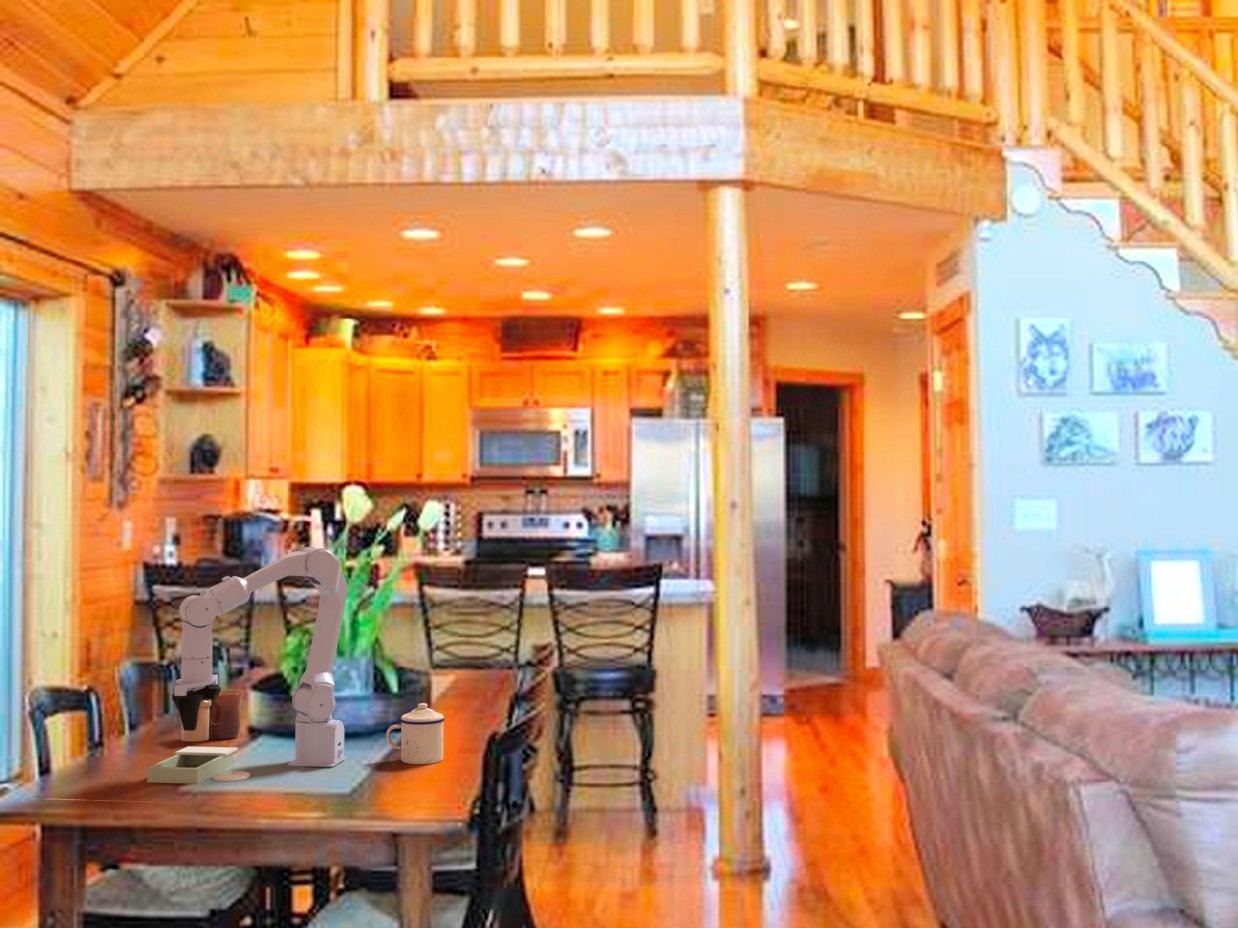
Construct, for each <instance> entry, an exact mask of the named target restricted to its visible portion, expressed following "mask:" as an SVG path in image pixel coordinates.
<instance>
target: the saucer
mask: <svg viewBox="0 0 1238 928" xmlns="http://www.w3.org/2000/svg"><path fill="white" fill-rule="evenodd" d="M250 776H251V774H250V772H248V771H242V770H231V771H221V772H219V773H217V774H214V775H213V776H211V779H212V780H213V781H217V782H219V781H220V782H235V781H241V780H247V779H248V778H250Z"/></svg>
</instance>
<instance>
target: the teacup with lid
mask: <svg viewBox="0 0 1238 928" xmlns="http://www.w3.org/2000/svg"><path fill="white" fill-rule="evenodd" d="M445 719H446V718H445V716H444V714H443V713H440V712H436V711H435V710H433V709H432V708H430V707H429V708H428V703H426V702H423V703H422V702H421V703H418V704H417V708H414V709H412V710H411V711H410V712H408V713H405V714H403V715H401V717H400V719H399V721H400V722H401V723H400V724H393V725H391V726H390V727H389V728H388V729H387V730H386V736H385V737H386V738H385V739H386V740H387V741H386V742H387V743H388V745H389V746H390V747H391V748H393V749H395V750H400V752H401V753H400V759H401V762H403V763H404V764H409V765H431V764H436V763H440V762H441V761H443V760H444V721H445ZM396 729H401V730H400V731H401V735H400V736H401V743H400V745H397V744H395V743H394V742H393V741H392V739H391V732H392V730H396Z"/></svg>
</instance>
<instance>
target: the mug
mask: <svg viewBox="0 0 1238 928" xmlns="http://www.w3.org/2000/svg"><path fill="white" fill-rule="evenodd" d="M244 693H245V691H244V690H242V689H236V688H235V689H234V688H225V689H224V688H221V691H220V693H219V695H218V697H217V699H216V701H215V704H214V707H213V711H212V715H211V719H210V723H209V738H208V739H211V740H212V741H213V740H214V741H215V740H216V741H226V739H227V740H232V738H233V739H236V738H238V736H239V735H240V733H241V727H242V725H241V704H242V699H243V696H244ZM235 737H236V738H235Z"/></svg>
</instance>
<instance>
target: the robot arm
mask: <svg viewBox="0 0 1238 928" xmlns="http://www.w3.org/2000/svg"><path fill="white" fill-rule="evenodd" d="M288 576H293V577H303V578H305V579H306V580H308V581H309V582H310V583H312V585H313V586H314V587H315V589H316V591H318V593H319V594H320V599H319V605H318V610H317V615H316V620H315V624H314V630H313V635H312V639H311V645H310V651H309V655H308V661H307V665H306V670H305V671H304V673H303V674H302V675H301V678H300V679H299V680H300V681H299V684H298V686H297V688H296V689H295V691H294V692H293V694H292V700H291V701H292V706H293V708H294V709H295V710H296V712H297V714H296V715H295V716H296V717H295V735H294V736H295V737H294V738H295V743H294V744H295V745H294V746H295V754H294V755H295V758H294V760H292V761H290V762H288V763H287V766H291V767H316V768H317V767H326V768H327V767H329V768H333V767H335V766H337V765H338V764H339V763H341V762H342V761H344V760H346V757H345V725H344V723H343V720H339V719H337V720H336V719H334V718H332V717H333V716H332V715H333V713H334V711H335V709H336V698H335V686H336V685H335V680H334V677H333V670H334V665H335V659H336V655H337V650H338V649H337V648H338V644H339V639H340V634H341V629H342V623H343V618H344V613H345V608H346V603H347V597H348V592H349V588H348V584H347V581H346V578H345V575H344V572H343V569H342V561H341V560H340V559H339V557H338V556H337V555H336V554H335V553H334V552H333V551H332V550H331V549H329V548H325V547H319V548H317V547H314V546H306V547H303V548H301V549H300V550H296V551H292V552H290V553H288V554H285V555H283V556H282V557H280V558H278V559H275V560H274V561H272V562H271V563H268V564H267V565H265V566H264V567H262V568H260V569H258V570H256V571H254V572H252V573H250V574H249V575H247V576H245V577H243V578H242V577H239V576H236V575H234V576H232V577H230V576H229V575H227V576H224V577H222V578H221V582H219V583H217V584H215V585H213V586H211V587H210V588H207V589H206V588H202V589H200V590H199V593H200V595H194V594H193V595H190V596H187V597H185V599H183V600H182V602H181V603H180V605H179V609H178V610H177V614H178V617H179V618H180V620H181V621H182V627H181V629H182V630H181V675H180V676H181V678H179V679H176V680H175V685H174V693H172V695H171V696H172V697H171V700H172V701H173V703H174V704H175V706H176V708H177V710H178V713H179V717H180V720H181V721H180V722H181V726H182V725H183V729H184V730H187V731H194V730H195V729H196V725H197V718H198V710H199V706H200V703H201V700H202V698H205V699H211V700H212V701H211V706H210V712H209V723H210V719H211V715H212V711H213V707H214V704H215V701H216V699H217V697H218V695H219V693H220V691H221V689H222V687H221V686H216V685H218V684H219V675H218V674H213V622H214V621H215V620H216V617H217V616H218V617H220V616H222V615H224V614H226V613H228V612H229V611H232V610H233V609H236V608H237V607H239V606H241V605H243V604H245V603H247V602H248V601H249V599H250V596H251V595H252V593H253V592H255V591H257V590H259V589H261V588H264V587H266V586H268V585H271V584H272V583H274V582H277V581H280V580H281V579H283V578H285V577H288Z"/></svg>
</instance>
